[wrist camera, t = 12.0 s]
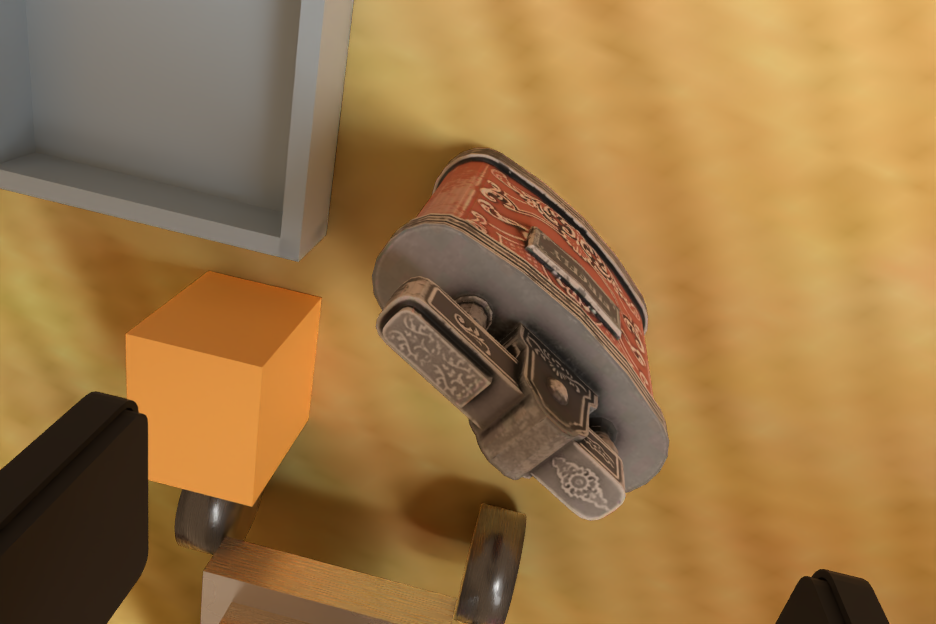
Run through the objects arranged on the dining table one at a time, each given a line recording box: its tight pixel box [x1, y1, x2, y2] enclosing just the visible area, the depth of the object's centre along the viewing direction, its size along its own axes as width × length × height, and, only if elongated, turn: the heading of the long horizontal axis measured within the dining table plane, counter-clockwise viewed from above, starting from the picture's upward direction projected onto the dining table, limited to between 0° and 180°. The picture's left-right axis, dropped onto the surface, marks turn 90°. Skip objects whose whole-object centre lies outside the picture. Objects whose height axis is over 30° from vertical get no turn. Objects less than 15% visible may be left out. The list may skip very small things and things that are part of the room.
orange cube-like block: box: [125, 271, 322, 507], centre depth 24 cm, size 4×5×5 cm
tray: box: [0, 0, 354, 262], centre depth 20 cm, size 10×12×2 cm
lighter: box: [372, 148, 669, 521], centre depth 18 cm, size 8×3×10 cm, turn 46°
